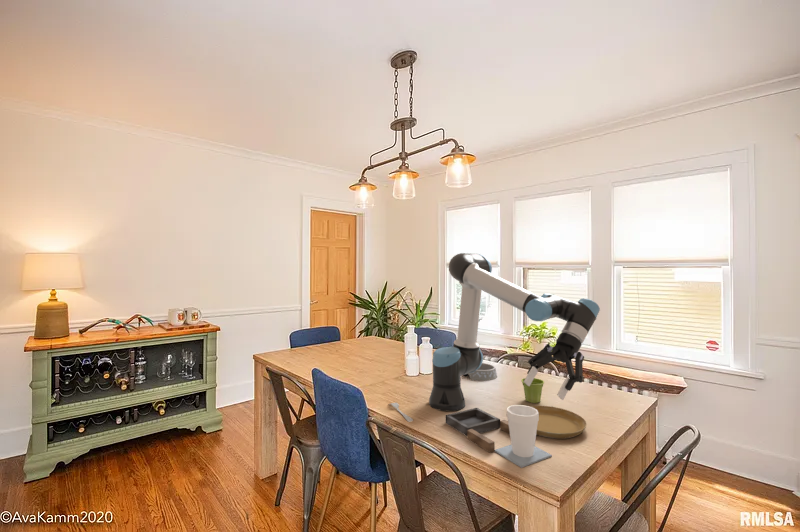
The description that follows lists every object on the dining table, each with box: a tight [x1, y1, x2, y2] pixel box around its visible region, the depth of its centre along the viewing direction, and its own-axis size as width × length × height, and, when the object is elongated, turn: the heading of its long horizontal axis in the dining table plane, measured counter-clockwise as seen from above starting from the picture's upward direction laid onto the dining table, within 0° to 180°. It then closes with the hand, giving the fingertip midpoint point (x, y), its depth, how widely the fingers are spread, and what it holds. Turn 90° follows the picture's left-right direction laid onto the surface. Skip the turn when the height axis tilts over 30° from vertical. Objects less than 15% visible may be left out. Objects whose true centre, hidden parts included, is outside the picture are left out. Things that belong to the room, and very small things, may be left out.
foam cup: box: [506, 404, 539, 457], centre depth 114 cm, size 10×9×13 cm
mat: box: [494, 444, 553, 468], centre depth 114 cm, size 11×13×1 cm
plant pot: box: [521, 377, 545, 404], centre depth 160 cm, size 9×9×9 cm
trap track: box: [445, 407, 510, 454], centre depth 130 cm, size 25×17×3 cm
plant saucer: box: [530, 405, 588, 440], centre depth 134 cm, size 24×24×3 cm
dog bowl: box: [467, 362, 498, 382], centre depth 198 cm, size 17×18×5 cm
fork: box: [390, 402, 414, 423], centre depth 149 cm, size 3×21×3 cm, turn 25°
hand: (542, 390), depth 121 cm, fingers open, 13 cm apart
